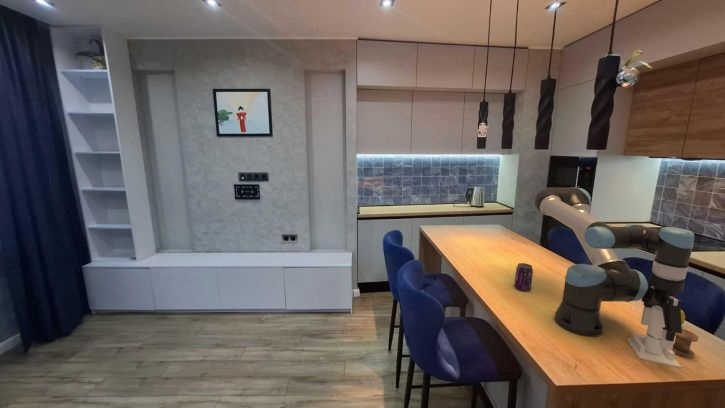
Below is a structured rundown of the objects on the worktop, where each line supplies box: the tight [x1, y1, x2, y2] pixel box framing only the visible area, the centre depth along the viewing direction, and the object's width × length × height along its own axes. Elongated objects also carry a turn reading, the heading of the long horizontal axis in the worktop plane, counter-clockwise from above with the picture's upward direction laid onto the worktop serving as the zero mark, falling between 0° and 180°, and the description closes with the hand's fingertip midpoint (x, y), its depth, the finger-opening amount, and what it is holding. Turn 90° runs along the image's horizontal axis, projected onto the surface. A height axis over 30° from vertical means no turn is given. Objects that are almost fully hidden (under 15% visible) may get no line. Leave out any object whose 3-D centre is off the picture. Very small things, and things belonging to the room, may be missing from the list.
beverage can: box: [514, 262, 534, 292], centre depth 142 cm, size 7×7×12 cm
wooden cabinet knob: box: [672, 328, 699, 359], centre depth 98 cm, size 6×6×7 cm
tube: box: [644, 305, 665, 355], centre depth 97 cm, size 4×4×15 cm
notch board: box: [627, 333, 682, 369], centre depth 98 cm, size 10×10×3 cm
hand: (655, 335), depth 97 cm, fingers open, 13 cm apart
